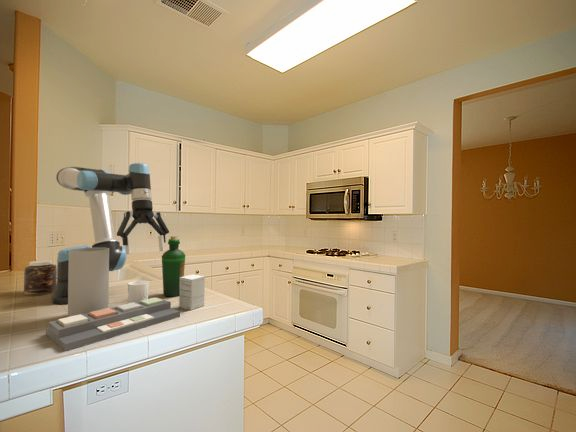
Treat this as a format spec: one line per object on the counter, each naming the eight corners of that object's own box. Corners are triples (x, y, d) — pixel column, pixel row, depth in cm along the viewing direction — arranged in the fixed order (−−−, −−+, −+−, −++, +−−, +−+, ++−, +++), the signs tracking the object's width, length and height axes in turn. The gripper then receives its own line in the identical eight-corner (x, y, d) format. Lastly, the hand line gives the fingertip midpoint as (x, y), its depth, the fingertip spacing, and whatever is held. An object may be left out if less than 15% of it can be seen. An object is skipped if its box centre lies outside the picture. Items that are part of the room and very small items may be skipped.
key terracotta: (89, 316, 97) (89, 312, 97) (108, 312, 102) (108, 307, 102) (96, 321, 93) (96, 316, 93) (116, 316, 98) (116, 311, 98)
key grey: (116, 310, 104) (116, 306, 104) (133, 306, 109) (133, 302, 109) (124, 314, 100) (124, 309, 100) (141, 309, 105) (141, 305, 105)
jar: (51, 288, 146) (52, 258, 146) (59, 292, 139) (60, 261, 139) (20, 293, 137) (21, 261, 137) (27, 297, 130) (28, 264, 130)
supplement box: (192, 302, 126) (193, 274, 126) (204, 305, 123) (205, 276, 123) (178, 307, 120) (179, 277, 120) (191, 310, 116) (191, 279, 116)
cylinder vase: (101, 308, 117) (102, 246, 117) (113, 315, 109) (114, 249, 109) (63, 316, 107) (64, 249, 107) (73, 324, 99) (74, 252, 99)
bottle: (189, 294, 140) (190, 236, 140) (170, 299, 131) (171, 237, 131) (175, 290, 146) (176, 235, 146) (156, 295, 137) (157, 236, 137)
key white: (58, 324, 90) (58, 319, 90) (80, 319, 95) (80, 314, 95) (64, 329, 87) (64, 323, 87) (87, 323, 91) (87, 318, 91)
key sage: (140, 304, 111) (140, 300, 111) (155, 301, 116) (155, 297, 116) (148, 308, 107) (148, 303, 107) (163, 304, 112) (163, 300, 112)
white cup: (139, 310, 115) (140, 285, 115) (122, 308, 117) (123, 284, 117) (152, 304, 123) (153, 281, 123) (136, 303, 125) (137, 279, 125)
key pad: (45, 334, 91) (46, 320, 91) (154, 307, 120) (154, 296, 120) (65, 351, 80) (65, 335, 80) (179, 316, 109) (179, 305, 109)
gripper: (113, 196, 106) (117, 254, 103) (174, 200, 126) (179, 248, 123) (104, 201, 110) (108, 256, 108) (165, 204, 130) (169, 250, 128)
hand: (146, 252), depth 116 cm, fingers open, 13 cm apart
